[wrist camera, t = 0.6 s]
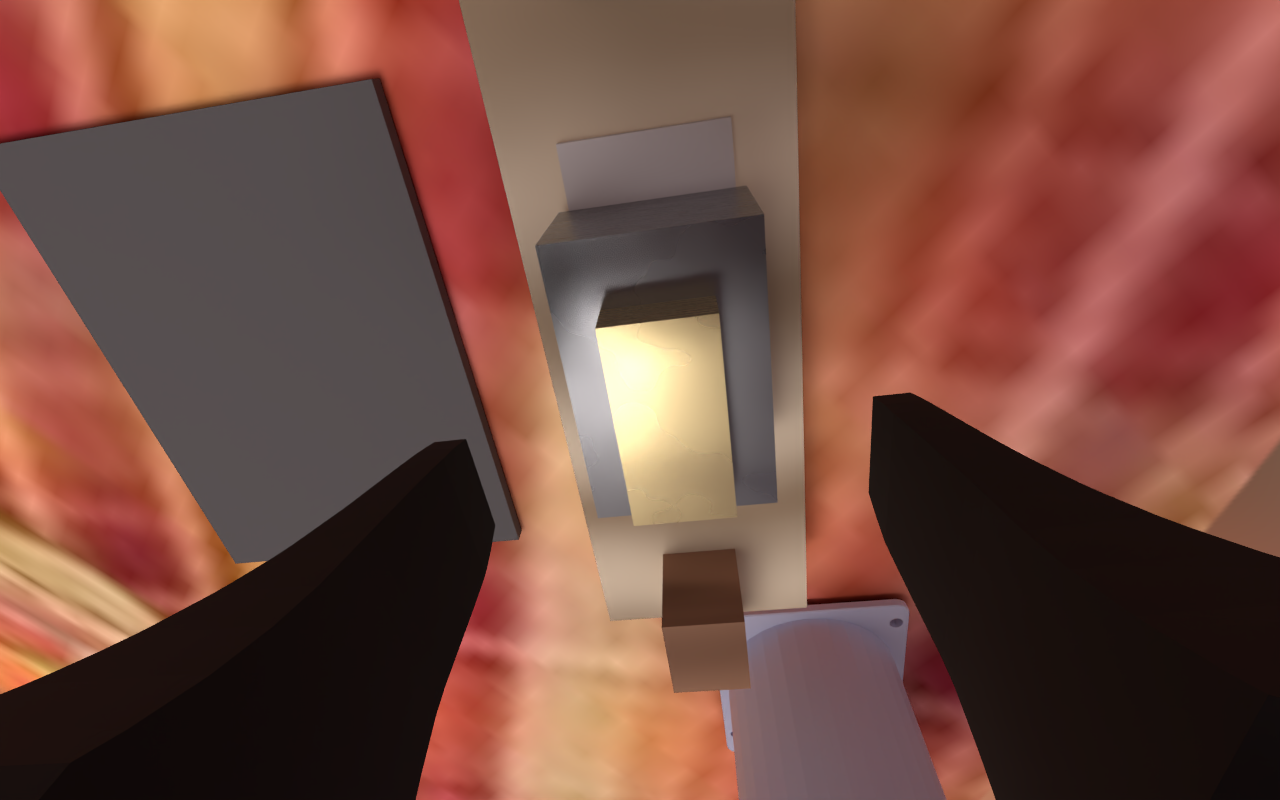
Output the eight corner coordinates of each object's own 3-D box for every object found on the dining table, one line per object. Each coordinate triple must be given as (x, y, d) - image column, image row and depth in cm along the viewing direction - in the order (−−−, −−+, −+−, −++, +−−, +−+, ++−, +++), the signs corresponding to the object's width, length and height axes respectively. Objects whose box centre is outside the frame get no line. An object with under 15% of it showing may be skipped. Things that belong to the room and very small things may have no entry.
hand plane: (791, 547, 24) (826, 684, 19) (616, 561, 25) (602, 696, 19) (765, -223, 13) (829, -409, 8) (457, -157, 14) (330, -286, 9)
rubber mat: (521, 531, 24) (518, 539, 24) (243, 554, 25) (235, 563, 25) (379, 78, 16) (371, 79, 16) (-10, 146, 18) (-27, 148, 17)
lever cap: (761, 436, 18) (784, 530, 14) (608, 451, 18) (593, 545, 15) (746, 185, 14) (771, 226, 11) (558, 212, 15) (524, 260, 11)
